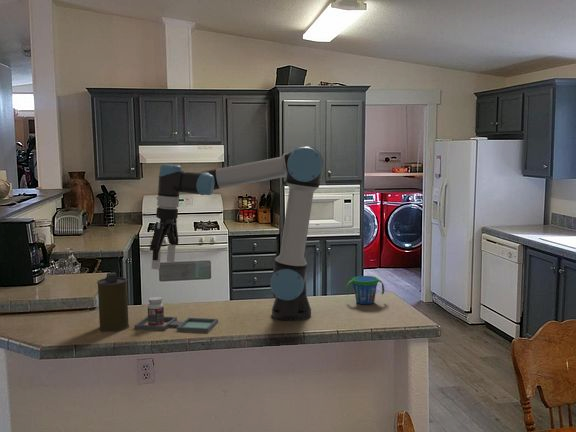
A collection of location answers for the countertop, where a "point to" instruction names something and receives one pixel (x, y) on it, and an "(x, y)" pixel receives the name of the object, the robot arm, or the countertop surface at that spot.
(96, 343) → the countertop surface
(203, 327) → the double square frame
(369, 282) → the snack cup
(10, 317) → the countertop surface
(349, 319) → the countertop surface
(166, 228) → the robot arm
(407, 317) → the countertop surface
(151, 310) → the pill bottle
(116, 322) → the canister
